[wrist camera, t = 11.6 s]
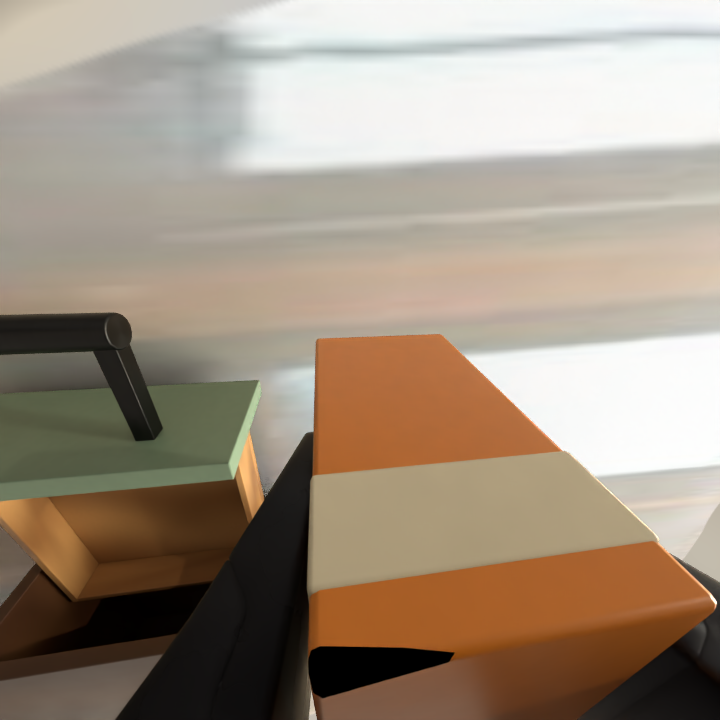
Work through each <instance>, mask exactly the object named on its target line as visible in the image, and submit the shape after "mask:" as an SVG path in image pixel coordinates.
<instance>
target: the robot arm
mask: <svg viewBox="0 0 720 720" xmlns="http://www.w3.org/2000/svg"><path fill="white" fill-rule="evenodd" d="M313 437H314V432H308V433H306V434H305V436H304V437H303V439H302V440H301V442H300V444H299V445H298V447H297V448H296V450H295V452H294V453H293V455H292V456H291V458H290V459H289V461H288V463H287V464H286V466H285V467H284V469H283V471H282V472H281V474H280V475H279V477H278V479H277V480H276V482H275V483H274V485H273V487H272V488H271V490H270V491H269V493H268V495H267V496H266V498H265V499H264V501H263V503H262V504H261V506H260V507H259V509H258V511H257V512H256V514H255V515H254V517H253V519H252V520H251V522H250V523H249V525H248V527H247V528H246V530H245V531H244V533H243V535H242V536H241V538H240V539H239V541H238V543H237V544H236V546H235V547H234V549H233V551H232V552H231V554H230V555H229V560H230V561H229V560H227V561H226V562H225V563H224V565H223V566H222V568H221V569H220V571H219V573H218V574H217V576H216V577H215V579H214V581H213V582H212V584H211V585H210V587H209V588H208V590H207V591H206V593H205V594H204V596H203V598H202V599H201V601H200V602H199V604H198V605H197V607H196V608H195V610H194V611H193V613H192V614H191V616H190V617H189V619H188V620H187V622H186V623H185V624H184V626H183V627H182V628H181V630H180V631H179V633H178V634H177V635H176V637H175V638H174V640H173V641H172V642H171V644H170V645H169V647H168V648H167V649H166V651H165V652H164V654H163V655H162V656H161V658H160V659H159V661H158V662H157V663H156V665H155V666H154V667H153V669H152V670H151V671H150V673H149V674H148V675H147V677H146V678H145V680H144V681H143V682H142V684H141V685H140V686H139V688H138V689H137V690H136V692H135V693H134V694H133V696H132V697H131V698H130V700H129V701H128V703H127V704H126V705H125V707H124V708H123V709H122V711H121V712H120V713H119V715H118V716H117V717H116V719H115V720H309V709H310V697H311V685H310V679H309V672H308V637H309V600H308V593H307V568H308V537H309V507H310V481H311V478H312V476H313ZM669 554H670V553H669ZM670 555H671V556H672V557H673V558H674V559H676V560H677V561H678V562H679V563H680V564H681V565H682V566H683V567H684V568H685V569H686V570H687V571H688V572H689V573H690V574H691V575H692V576H693V577H694V578H695V579H696V580H697V581H698V582H699V583H701V584H702V585H703V586H704V587H705V588H706V589H707V590H708V591H709V592H710V593H711V594H712V596H713V597H714V599H715V600H716V602H717V604H716V608H715V610H714V612H713V613H712V614H710V615H709V616H708V617H707V618H705V619H704V620H703V621H701V622H700V623H699V624H698V625H696V626H695V627H694V628H693V629H691V630H690V631H689V632H687V633H686V634H685V635H684V636H682V637H681V638H680V639H679V640H677V641H676V642H675V643H673V644H672V645H671V646H670V647H668V648H667V649H666V650H664V651H663V652H662V653H661V654H659V655H658V656H657V657H656V658H654V659H653V660H652V661H650V662H649V663H648V664H647V665H645V666H644V667H643V668H641V669H640V670H639V671H638V672H636V673H635V674H634V675H633V676H631V677H630V678H629V679H627V680H626V681H625V682H624V683H622V684H621V685H620V686H619V687H617V688H616V689H615V690H613V691H612V692H611V693H610V694H608V695H607V696H606V697H604V698H603V699H602V700H601V701H599V702H598V703H597V704H596V705H594V706H593V707H592V708H590V709H589V710H588V711H587V712H585V713H584V714H583V715H582V716H580V717H579V718H578V719H576V720H720V582H718V581H716V580H715V579H713V578H711V577H710V576H708V575H706V574H704V573H703V572H701V571H699V570H697V569H696V568H694V567H692V566H691V565H689V564H687V563H685V562H684V561H682V560H680V559H679V558H677V557H675V556H673V555H672V554H670Z"/></svg>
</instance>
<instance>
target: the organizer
mask: <svg viewBox="0 0 720 720" xmlns="http://www.w3.org/2000/svg"><path fill="white" fill-rule="evenodd" d="M264 499H265V498H264ZM211 584H212V583H209V584H202V585H194V586H187V587H180V588H172V589H165V590H158V591H151V592H143V593H136V594H129V595H121V596H114V597H107V598H100V599H92V600H85V601H78V602H73V601H72V600H71V599H70V598H69V597H68V596H67V595H66V594H65V593H64V592H63V591H62V590H61V589H60V588H59V587H58V586H57V585H56V584H55V582H54V581H53V580H52V579H51V578H50V577H49V576H48V575H47V574H46V573H45V572H44V571H43V570H42V569H41V568H40V567H39V566H38V565H37V563H36V564H35V565H34V566H33V567H32V569H31V570H30V571H29V572H28V573H27V575H26V576H25V577H24V578H23V580H22V581H21V582H20V583H19V584H18V586H17V587H16V588H15V589H14V591H13V592H12V593H11V594H10V596H9V597H8V598H7V599H6V600H5V602H4V603H3V604H2V605H1V607H0V720H115V719H116V717H117V716H118V715H119V713H120V712H121V711H122V709H123V708H124V707H125V705H126V704H127V703H128V701H129V700H130V698H131V697H132V696H133V694H134V693H135V692H136V690H137V689H138V688H139V686H140V685H141V684H142V682H143V681H144V680H145V678H146V677H147V675H148V674H149V673H150V671H151V670H152V669H153V667H154V666H155V665H156V663H157V662H158V661H159V659H160V658H161V656H162V655H163V654H164V652H165V651H166V649H167V648H168V647H169V645H170V644H171V642H172V641H173V640H174V638H175V637H176V635H177V634H178V633H179V631H180V630H181V628H182V627H183V626H184V624H185V623H186V622H187V620H188V619H189V617H190V616H191V614H192V613H193V611H194V610H195V608H196V607H197V605H198V604H199V602H200V601H201V599H202V598H203V596H204V594H205V593H206V591H207V590H208V588H209V587H210V585H211Z"/></svg>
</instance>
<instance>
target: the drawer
mask: <svg viewBox="0 0 720 720" xmlns="http://www.w3.org/2000/svg"><path fill="white" fill-rule="evenodd" d="M131 338H132V331H131V327H130V324H129V322H128V320H127V319H126V318H125V317H124V316H123V315H121V314H118V313H74V314H28V315H0V355H9V354H35V353H62V352H89V351H93V352H94V354H95V356H96V358H97V360H98V363H99V365H100V367H101V369H102V371H103V373H104V375H105V377H106V379H107V382H108V384H109V386H110V388H99V389H80V390H61V391H42V392H23V393H4V394H0V525H1V527H2V528H3V529H4V530H5V531H6V532H7V533H8V534H9V535H10V536H11V537H12V538H13V539H14V540H15V541H16V542H17V543H18V544H19V546H20V547H21V548H22V549H23V550H24V551H25V552H26V553H27V554H28V555H29V556H30V557H31V558H32V559H33V560H34V561H35V562H36V563H37V565H38V566H39V567H40V568H41V569H42V570H43V571H44V572H45V573H46V574H47V575H48V576H49V577H50V578H51V579H52V580H53V581H54V582H55V584H56V585H57V586H58V587H59V588H60V589H61V590H62V591H63V592H64V593H65V594H66V595H67V596H68V597H69V598H70V599H71V600H72V601H73V602H78V601H85V600H92V599H100V598H107V597H114V596H121V595H129V594H136V593H143V592H151V591H158V590H165V589H172V588H180V587H187V586H194V585H202V584H209V583H212V582H213V581H214V579H215V577H216V576H217V574H218V573H219V571H220V569H221V568H222V566H223V565H224V563H225V562H226V561H227V560H229V555H230V554H231V552H232V551H233V549H234V547H235V546H236V544H237V543H238V541H239V539H240V538H241V536H242V535H243V533H244V531H245V530H246V528H247V527H248V525H249V523H250V522H251V520H252V519H253V517H254V515H255V514H256V512H257V511H258V509H259V507H260V506H261V504H262V503H263V501H264V496H263V491H262V486H261V482H260V477H259V473H258V468H257V463H256V459H255V454H254V450H253V445H252V440H251V436H250V431H249V430H250V427H251V424H252V421H253V418H254V415H255V412H256V409H257V406H258V403H259V399H260V396H261V387H260V381H259V380H252V381H233V382H214V383H195V384H176V385H157V386H146V384H145V381H144V379H143V376H142V374H141V371H140V369H139V366H138V364H137V361H136V359H135V356H134V354H133V351H132V349H131V346H130V342H131ZM229 561H230V560H229Z"/></svg>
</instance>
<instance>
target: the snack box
mask: <svg viewBox="0 0 720 720" xmlns="http://www.w3.org/2000/svg"><path fill="white" fill-rule="evenodd" d="M658 542H659V538H658V537H657V535H656V534H655V533H654V532H653V531H652V530H650V529H649V528H648V527H647V526H646V525H645V524H644V523H643V522H642V521H641V520H640V519H639V518H638V517H637V516H636V515H635V514H634V513H632V512H631V511H630V510H629V509H628V508H627V507H626V506H625V505H624V504H623V503H622V502H621V501H620V500H619V499H618V498H617V497H615V496H614V495H613V494H612V493H611V492H610V491H609V490H608V489H607V488H606V487H605V486H604V485H603V484H602V483H601V482H600V481H599V480H597V479H596V478H595V477H594V476H593V475H592V474H591V473H590V472H589V471H588V470H587V469H586V468H585V467H584V466H583V465H582V464H580V463H579V462H578V461H577V460H576V459H575V458H574V457H573V456H572V455H571V454H570V453H568V452H566V451H562V450H561V449H560V448H559V447H558V446H557V445H556V444H555V443H554V442H553V441H552V440H551V439H550V438H549V437H548V436H546V435H545V434H544V433H543V432H542V431H541V430H540V429H539V428H538V427H537V426H536V425H535V424H534V423H533V422H532V421H531V420H530V419H529V418H528V417H527V416H526V415H525V414H524V413H523V412H522V411H520V410H519V409H518V408H517V407H516V406H515V405H514V404H513V403H512V402H511V401H510V400H509V399H508V398H507V397H506V396H505V395H504V394H503V393H502V392H501V391H500V390H499V389H498V388H497V387H495V386H494V385H493V384H492V383H491V382H490V381H489V380H488V379H487V378H486V377H485V376H484V375H483V374H482V373H481V372H480V371H479V370H478V369H477V368H476V367H475V366H474V365H473V364H472V363H471V362H469V361H468V360H467V359H466V358H465V357H464V356H463V355H462V354H461V353H460V352H459V351H458V350H457V349H456V348H455V347H454V346H453V345H452V344H451V343H450V342H449V341H448V340H447V339H446V338H445V337H443V336H442V335H440V334H433V335H406V336H379V337H352V338H325V339H317V341H316V357H315V397H314V437H313V476H312V478H311V481H310V507H309V537H308V568H307V593H308V600H309V637H308V672H309V679H310V685H311V690H312V695H313V700H314V706H315V711H316V716H317V720H576V719H578V718H579V717H580V716H582V715H583V714H584V713H585V712H587V711H588V710H589V709H590V708H592V707H593V706H594V705H596V704H597V703H598V702H599V701H601V700H602V699H603V698H604V697H606V696H607V695H608V694H610V693H611V692H612V691H613V690H615V689H616V688H617V687H619V686H620V685H621V684H622V683H624V682H625V681H626V680H627V679H629V678H630V677H631V676H633V675H634V674H635V673H636V672H638V671H639V670H640V669H641V668H643V667H644V666H645V665H647V664H648V663H649V662H650V661H652V660H653V659H654V658H656V657H657V656H658V655H659V654H661V653H662V652H663V651H664V650H666V649H667V648H668V647H670V646H671V645H672V644H673V643H675V642H676V641H677V640H679V639H680V638H681V637H682V636H684V635H685V634H686V633H687V632H689V631H690V630H691V629H693V628H694V627H695V626H696V625H698V624H699V623H700V622H701V621H703V620H704V619H705V618H707V617H708V616H709V615H710V614H712V613H713V612H714V610H715V608H716V604H717V602H716V600H715V599H714V597H713V596H712V594H711V593H710V592H709V591H708V590H707V589H706V588H705V587H704V586H703V585H702V584H701V583H699V582H698V581H697V580H696V579H695V578H694V577H693V576H692V575H691V574H690V573H689V572H688V571H687V570H686V569H685V568H684V567H683V566H682V565H681V564H680V563H679V562H678V561H677V560H676V559H674V558H673V557H672V556H671V555H670V554H669V553H668V552H667V551H666V550H665V549H664V548H663V547H662V546H661V545H660V544H659V543H658Z"/></svg>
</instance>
